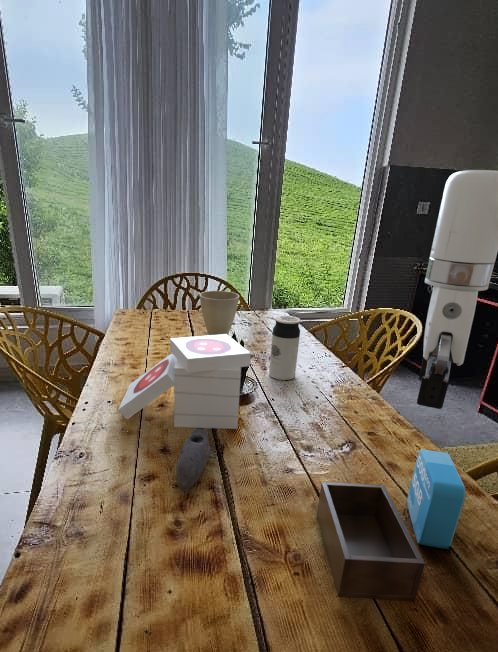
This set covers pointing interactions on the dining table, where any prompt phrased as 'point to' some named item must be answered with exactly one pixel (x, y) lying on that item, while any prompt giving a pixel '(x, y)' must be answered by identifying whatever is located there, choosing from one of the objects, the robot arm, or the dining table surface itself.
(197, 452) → the perforated stone tool
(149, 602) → the dining table surface
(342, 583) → the box
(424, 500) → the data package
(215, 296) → the plant pot
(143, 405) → the pizza boxes
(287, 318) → the travel mug
